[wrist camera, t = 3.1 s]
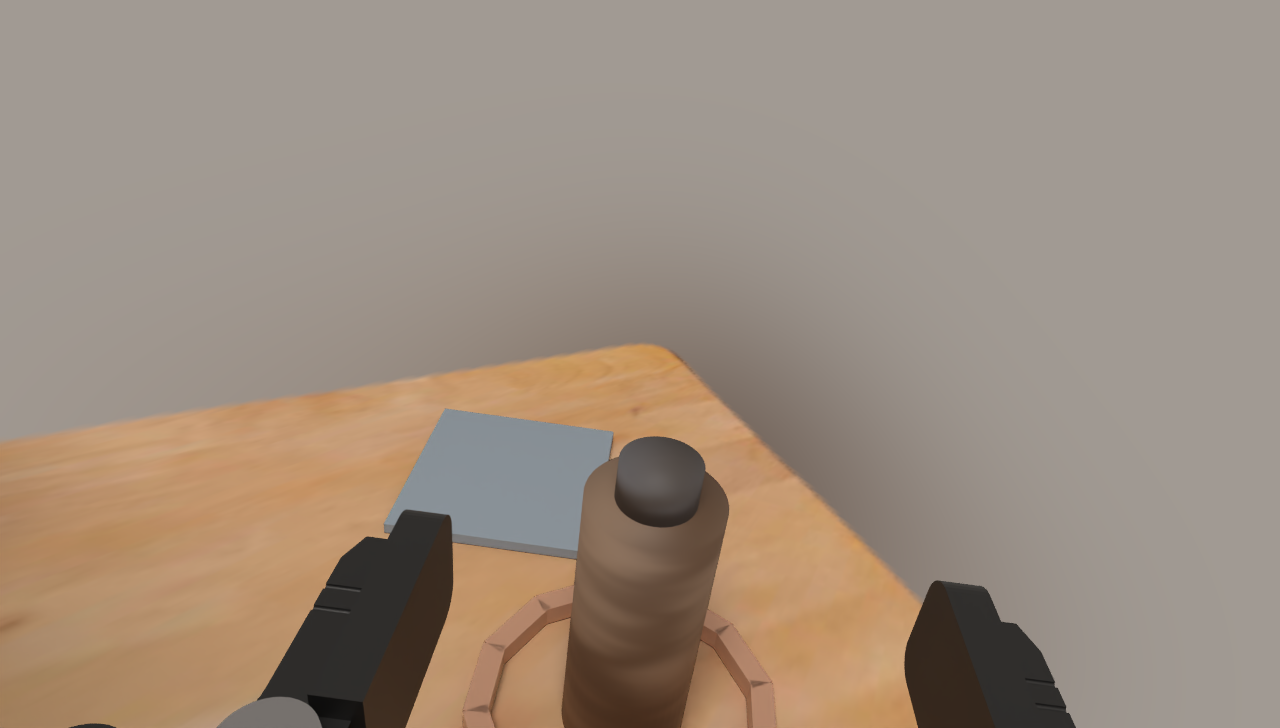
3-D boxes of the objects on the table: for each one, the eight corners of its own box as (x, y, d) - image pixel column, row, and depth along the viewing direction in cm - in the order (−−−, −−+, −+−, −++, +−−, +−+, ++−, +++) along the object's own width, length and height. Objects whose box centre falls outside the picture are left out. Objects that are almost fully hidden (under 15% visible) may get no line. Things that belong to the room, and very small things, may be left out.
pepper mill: (552, 758, 31) (576, 501, 24) (571, 652, 36) (596, 410, 29) (679, 777, 31) (739, 524, 24) (683, 668, 36) (734, 429, 29)
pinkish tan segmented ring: (426, 844, 28) (425, 829, 27) (506, 578, 39) (507, 564, 39) (783, 895, 28) (789, 881, 27) (761, 614, 39) (765, 600, 39)
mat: (384, 532, 41) (383, 524, 41) (445, 416, 50) (445, 408, 50) (590, 561, 41) (591, 552, 41) (612, 439, 50) (613, 431, 50)
